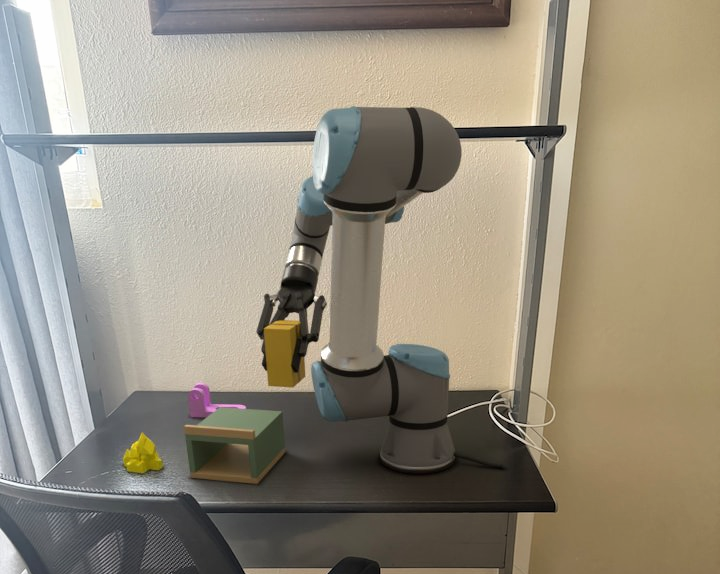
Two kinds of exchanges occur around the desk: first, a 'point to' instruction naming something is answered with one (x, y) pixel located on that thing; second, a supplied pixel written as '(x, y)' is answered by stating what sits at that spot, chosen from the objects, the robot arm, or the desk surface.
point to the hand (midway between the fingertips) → (279, 368)
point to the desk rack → (235, 444)
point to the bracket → (204, 402)
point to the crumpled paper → (142, 456)
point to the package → (282, 353)
